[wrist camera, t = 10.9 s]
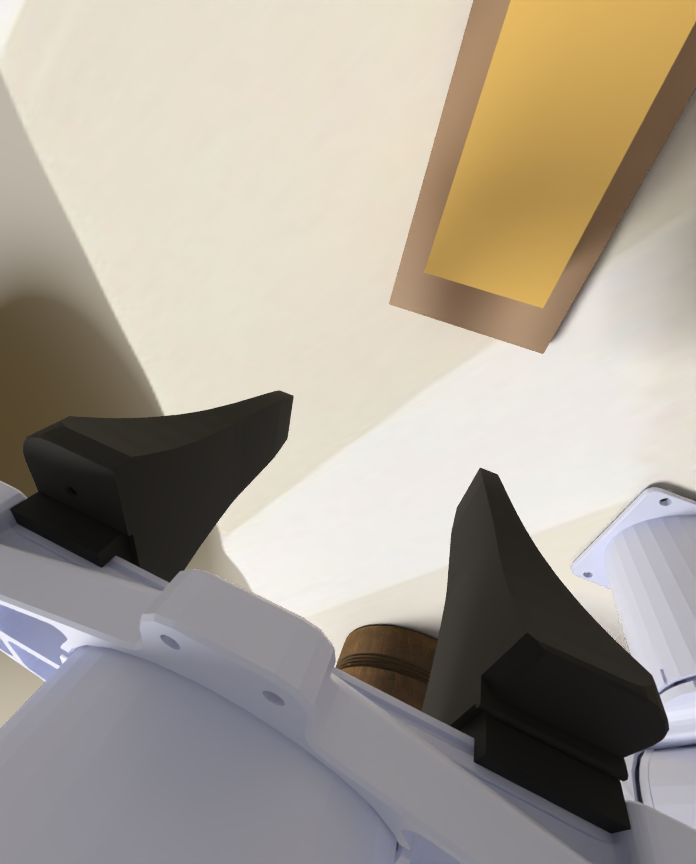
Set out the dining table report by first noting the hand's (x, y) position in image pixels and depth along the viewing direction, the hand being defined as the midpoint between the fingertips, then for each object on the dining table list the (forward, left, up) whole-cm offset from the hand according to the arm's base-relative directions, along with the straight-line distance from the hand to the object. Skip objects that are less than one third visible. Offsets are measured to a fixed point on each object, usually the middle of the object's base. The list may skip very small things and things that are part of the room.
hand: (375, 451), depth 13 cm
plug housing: (-2, -10, -8) cm, 13 cm away
